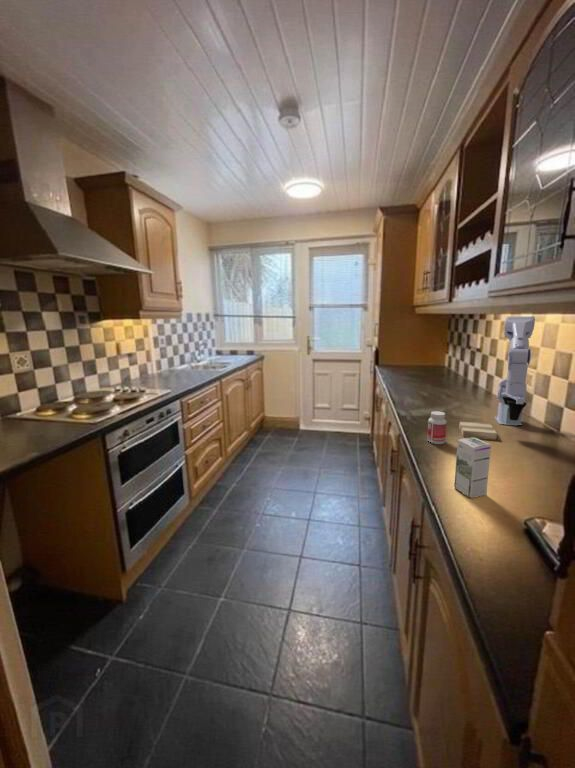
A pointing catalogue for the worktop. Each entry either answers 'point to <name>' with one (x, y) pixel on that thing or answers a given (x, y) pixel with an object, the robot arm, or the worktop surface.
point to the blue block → (507, 416)
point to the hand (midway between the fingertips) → (511, 417)
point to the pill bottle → (437, 428)
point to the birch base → (478, 430)
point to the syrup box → (472, 466)
